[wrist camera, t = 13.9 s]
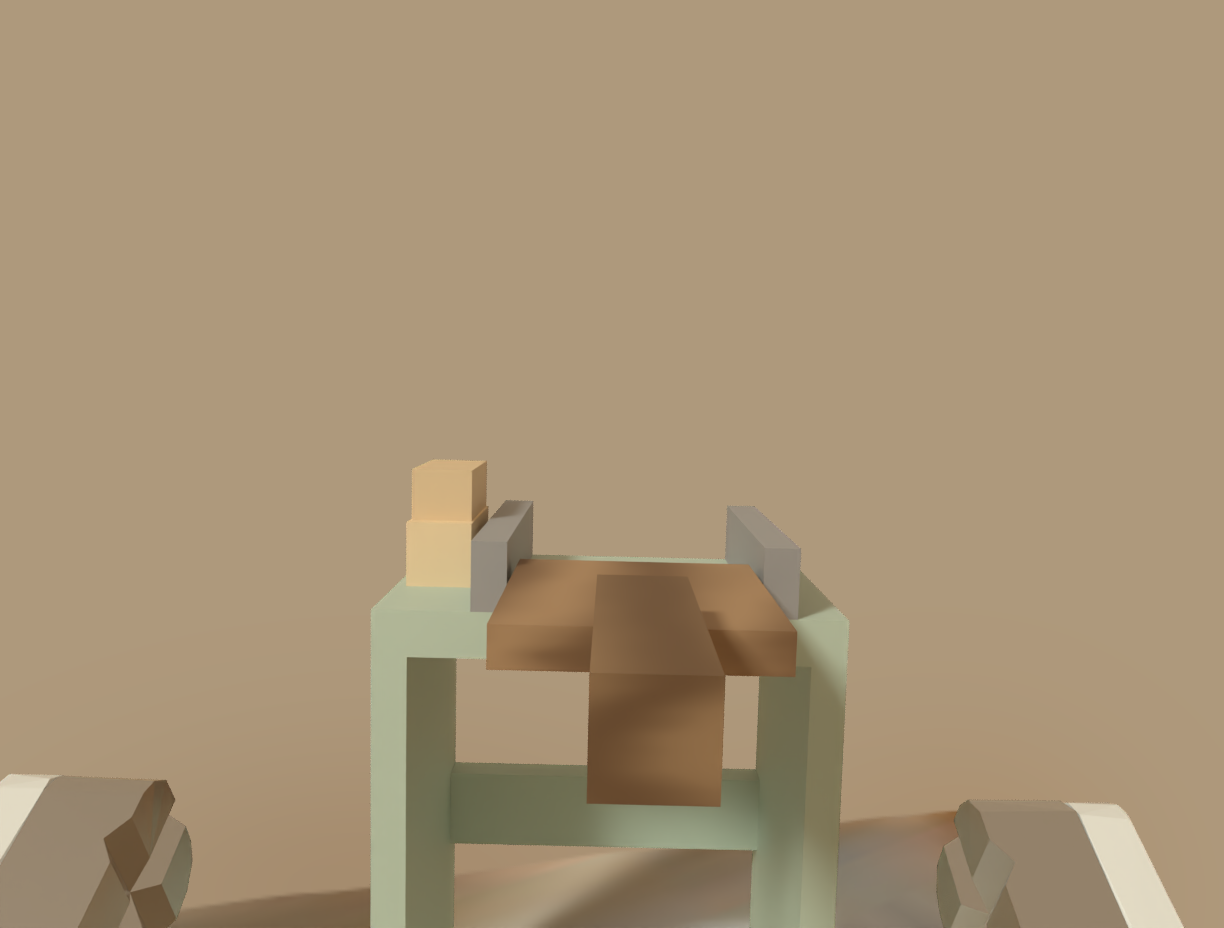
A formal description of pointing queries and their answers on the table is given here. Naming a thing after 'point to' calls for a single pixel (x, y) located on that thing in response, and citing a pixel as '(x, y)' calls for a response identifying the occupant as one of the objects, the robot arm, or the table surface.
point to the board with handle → (645, 662)
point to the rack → (557, 794)
